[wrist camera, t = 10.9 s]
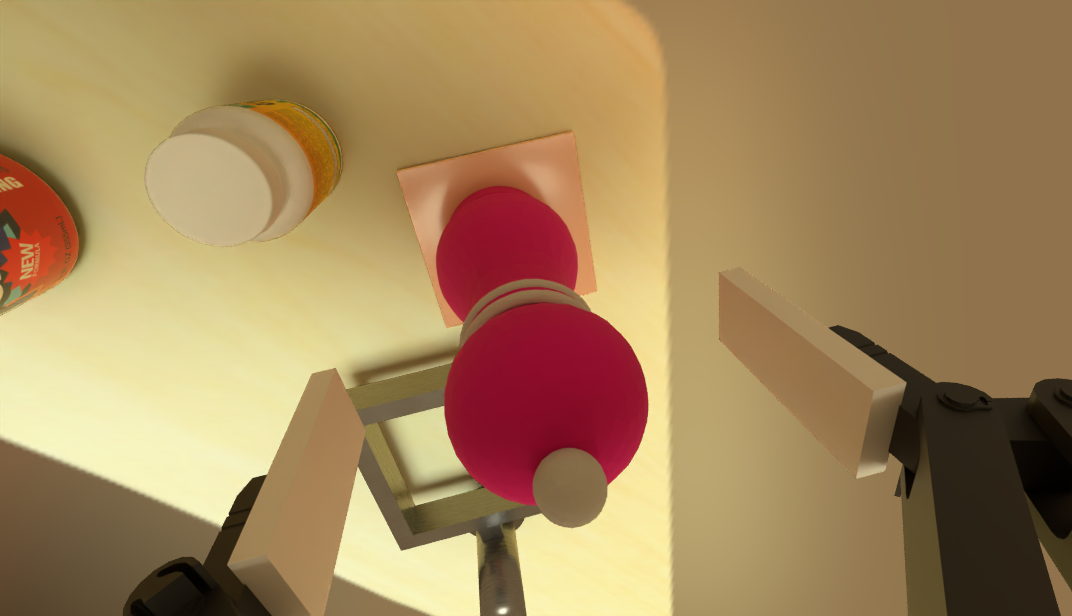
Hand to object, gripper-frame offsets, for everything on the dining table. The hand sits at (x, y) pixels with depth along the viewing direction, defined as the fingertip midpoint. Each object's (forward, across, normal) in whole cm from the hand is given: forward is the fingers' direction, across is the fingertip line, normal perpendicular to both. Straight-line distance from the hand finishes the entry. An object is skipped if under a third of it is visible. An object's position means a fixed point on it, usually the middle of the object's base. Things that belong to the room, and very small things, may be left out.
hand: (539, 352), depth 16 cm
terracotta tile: (+14, 0, 0) cm, 14 cm away
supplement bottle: (+14, -10, +6) cm, 19 cm away
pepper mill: (+14, 0, 0) cm, 14 cm away
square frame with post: (+14, -6, -16) cm, 22 cm away
